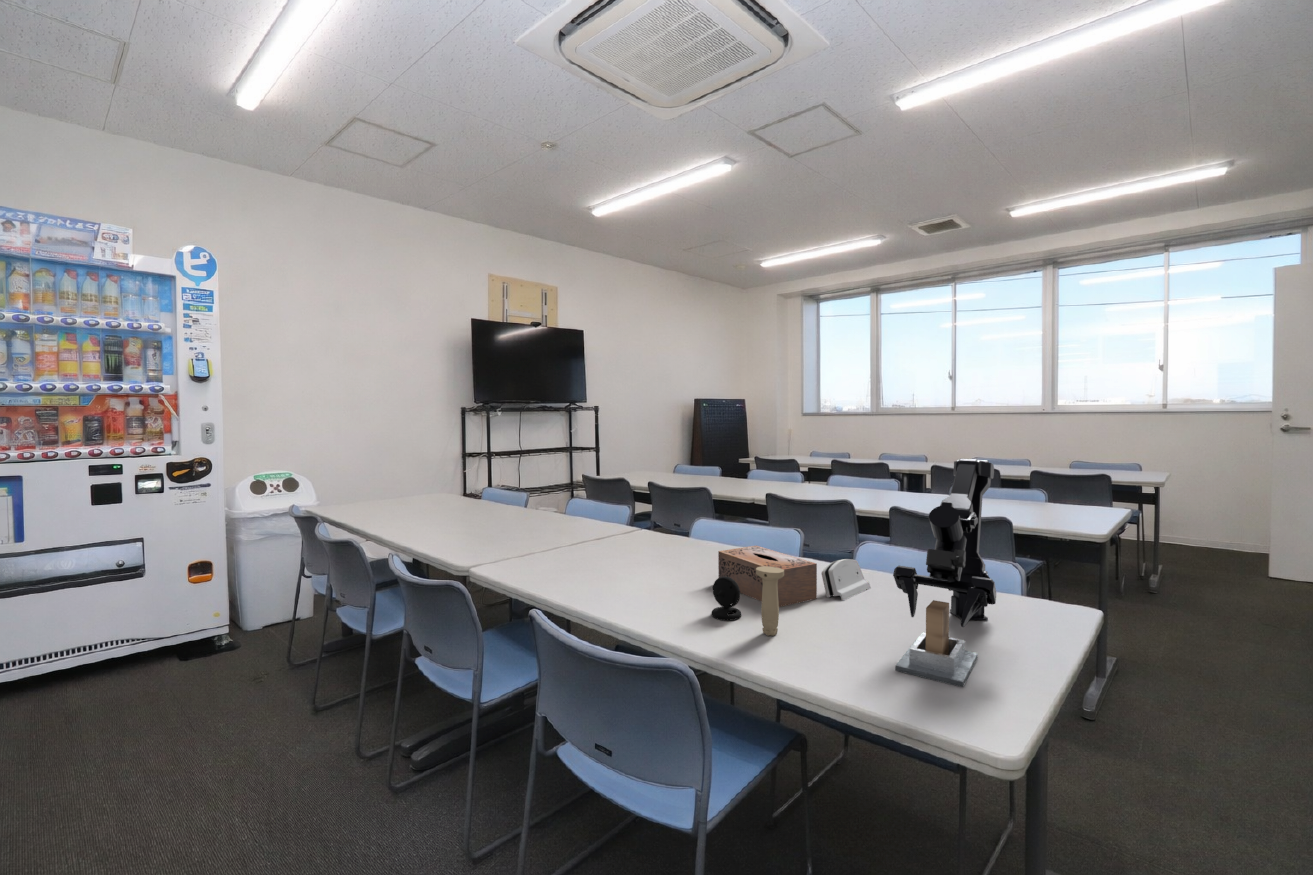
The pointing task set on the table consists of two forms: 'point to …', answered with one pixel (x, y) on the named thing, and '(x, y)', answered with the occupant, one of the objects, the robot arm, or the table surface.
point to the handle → (770, 598)
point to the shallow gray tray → (938, 662)
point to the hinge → (844, 579)
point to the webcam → (726, 599)
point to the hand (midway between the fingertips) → (936, 620)
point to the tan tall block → (937, 627)
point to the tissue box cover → (744, 562)
